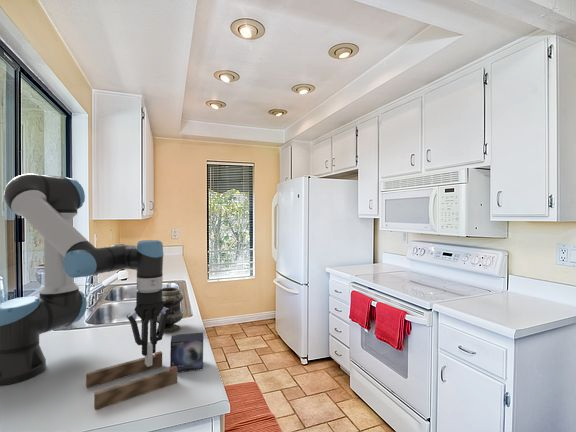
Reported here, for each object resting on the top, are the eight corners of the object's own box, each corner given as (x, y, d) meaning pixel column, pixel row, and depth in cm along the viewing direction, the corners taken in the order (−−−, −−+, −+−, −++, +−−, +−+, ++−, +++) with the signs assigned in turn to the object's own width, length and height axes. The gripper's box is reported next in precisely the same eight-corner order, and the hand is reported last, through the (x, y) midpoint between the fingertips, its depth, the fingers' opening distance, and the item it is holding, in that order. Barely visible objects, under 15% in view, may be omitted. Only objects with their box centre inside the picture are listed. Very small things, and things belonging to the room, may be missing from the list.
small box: (169, 374, 105) (169, 342, 105) (170, 365, 111) (171, 334, 111) (203, 370, 108) (203, 338, 108) (202, 361, 114) (202, 331, 114)
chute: (95, 409, 86) (95, 392, 86) (85, 385, 97) (86, 370, 97) (177, 382, 100) (177, 367, 100) (160, 364, 111) (160, 351, 111)
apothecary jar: (183, 332, 141) (184, 291, 141) (154, 335, 137) (154, 293, 136) (181, 323, 152) (182, 285, 152) (154, 326, 148) (154, 287, 147)
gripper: (130, 295, 94) (129, 375, 95) (174, 289, 103) (173, 362, 103) (123, 290, 100) (122, 366, 100) (165, 284, 109) (164, 354, 109)
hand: (148, 364), depth 102 cm, fingers closed
